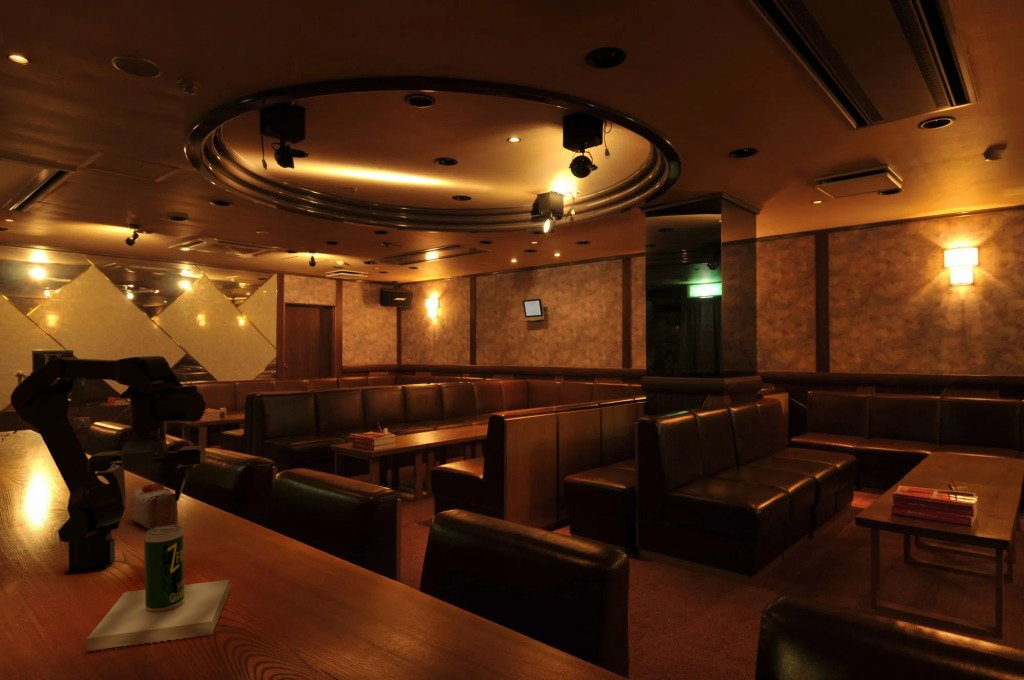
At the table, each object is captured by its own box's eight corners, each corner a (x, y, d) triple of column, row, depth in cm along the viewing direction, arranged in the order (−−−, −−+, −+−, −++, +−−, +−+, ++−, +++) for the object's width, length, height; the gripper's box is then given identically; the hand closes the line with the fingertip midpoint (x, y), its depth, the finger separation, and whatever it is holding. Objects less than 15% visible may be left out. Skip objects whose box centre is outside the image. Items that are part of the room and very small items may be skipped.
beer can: (138, 614, 91) (136, 536, 91) (156, 598, 96) (155, 525, 96) (174, 612, 91) (173, 535, 91) (190, 597, 97) (189, 524, 97)
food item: (126, 522, 144) (126, 482, 144) (162, 514, 150) (162, 476, 150) (147, 534, 135) (146, 491, 135) (184, 525, 141) (183, 484, 141)
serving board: (87, 652, 84) (86, 638, 84) (125, 604, 99) (124, 592, 99) (211, 634, 88) (211, 621, 88) (229, 591, 104) (229, 579, 104)
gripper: (73, 431, 103) (75, 520, 103) (192, 424, 108) (194, 509, 108) (98, 422, 113) (100, 503, 114) (205, 416, 119) (207, 494, 119)
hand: (150, 503), depth 113 cm, fingers open, 9 cm apart
